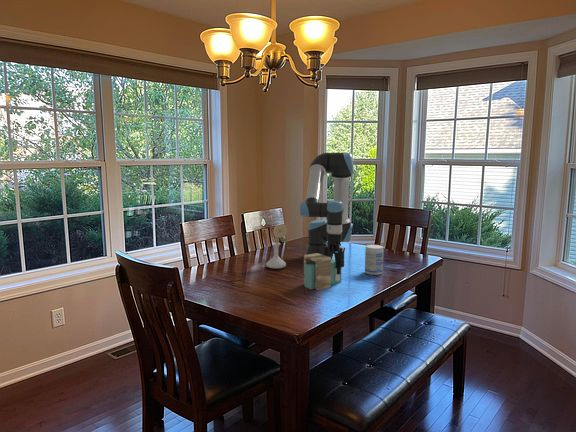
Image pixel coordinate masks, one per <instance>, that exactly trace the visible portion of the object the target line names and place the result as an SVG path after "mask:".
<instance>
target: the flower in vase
mask: <svg viewBox="0 0 576 432" xmlns="http://www.w3.org/2000/svg"><path fill="white" fill-rule="evenodd" d="M288 232H289V229H288V228H287V226H286V225H284V224H282V223H281V224H277V225H275V226H274V228H273V230H272V233H273V236H274V237H276V238H278V239H279V240H277V239H275V238H273V240H274V241H276V242H272V243H271V245H272V246H273V257H272V258H270V259H269V260H268V261H267V262H266V264H265V266H266V267H267V268H270V269H284V268H285V267H286V266H287V263H286V262H285V260H283V259H282V258H281V257H280V256H279V249H280V248H279V247H280V246H281V243H280V242H282V243H286V242H288V240H287V239H286V238H285V237H286V236H287V234H288Z"/></svg>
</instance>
